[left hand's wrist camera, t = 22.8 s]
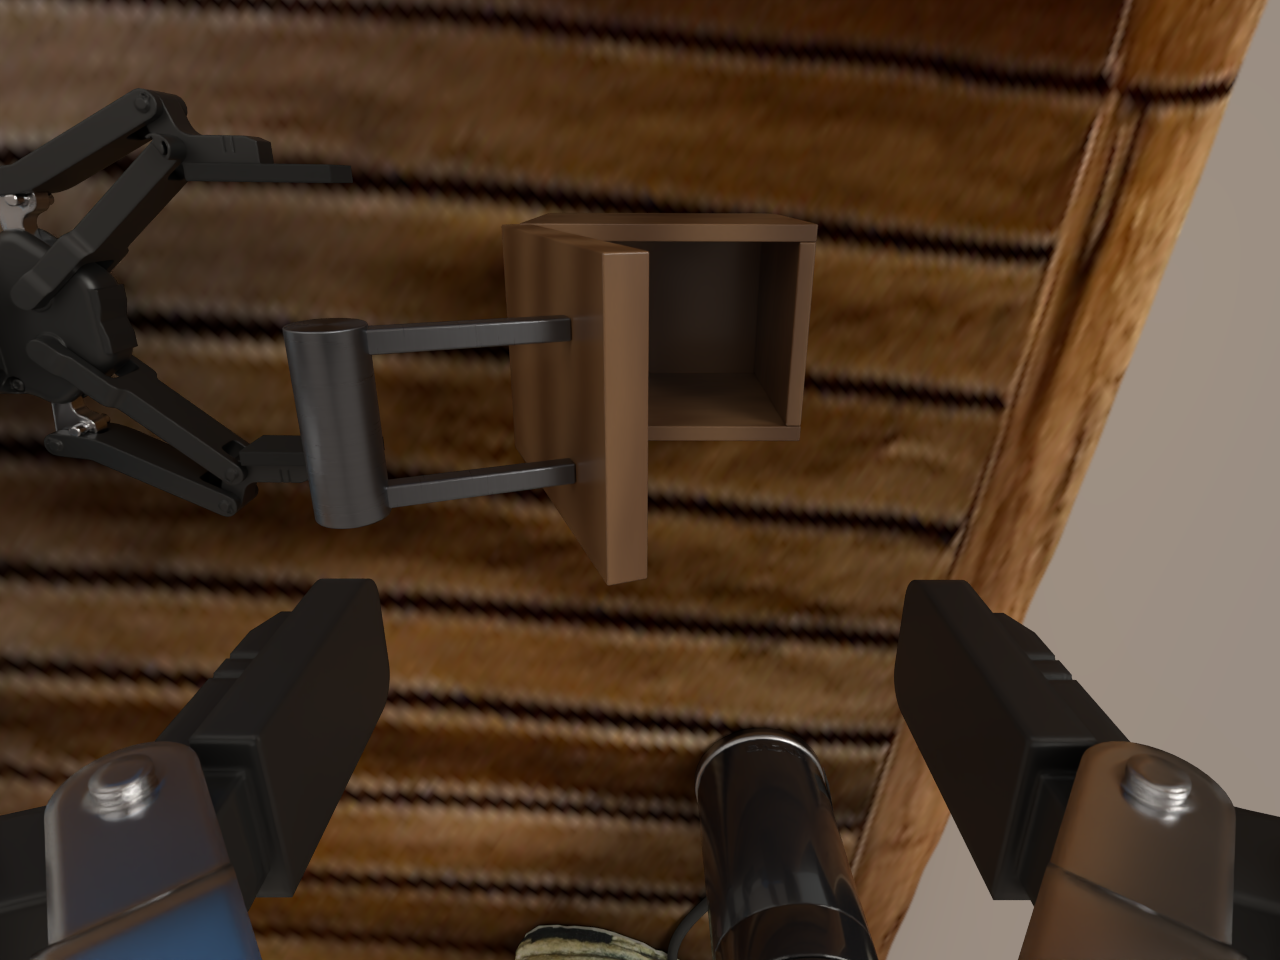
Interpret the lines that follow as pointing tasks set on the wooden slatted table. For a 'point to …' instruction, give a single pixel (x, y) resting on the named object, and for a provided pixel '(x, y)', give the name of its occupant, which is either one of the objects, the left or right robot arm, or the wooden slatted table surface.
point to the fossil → (582, 945)
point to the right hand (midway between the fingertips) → (360, 322)
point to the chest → (718, 318)
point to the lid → (541, 393)
